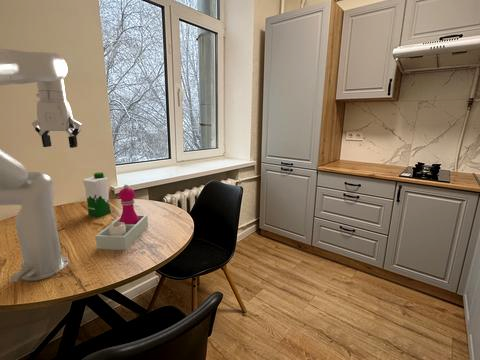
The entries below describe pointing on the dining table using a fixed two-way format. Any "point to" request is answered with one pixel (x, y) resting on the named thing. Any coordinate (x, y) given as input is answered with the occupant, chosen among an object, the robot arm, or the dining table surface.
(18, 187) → the robot arm
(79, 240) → the dining table surface
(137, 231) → the grey divided tray
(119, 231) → the salt cellar
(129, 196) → the pepper mill
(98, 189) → the milk carton
